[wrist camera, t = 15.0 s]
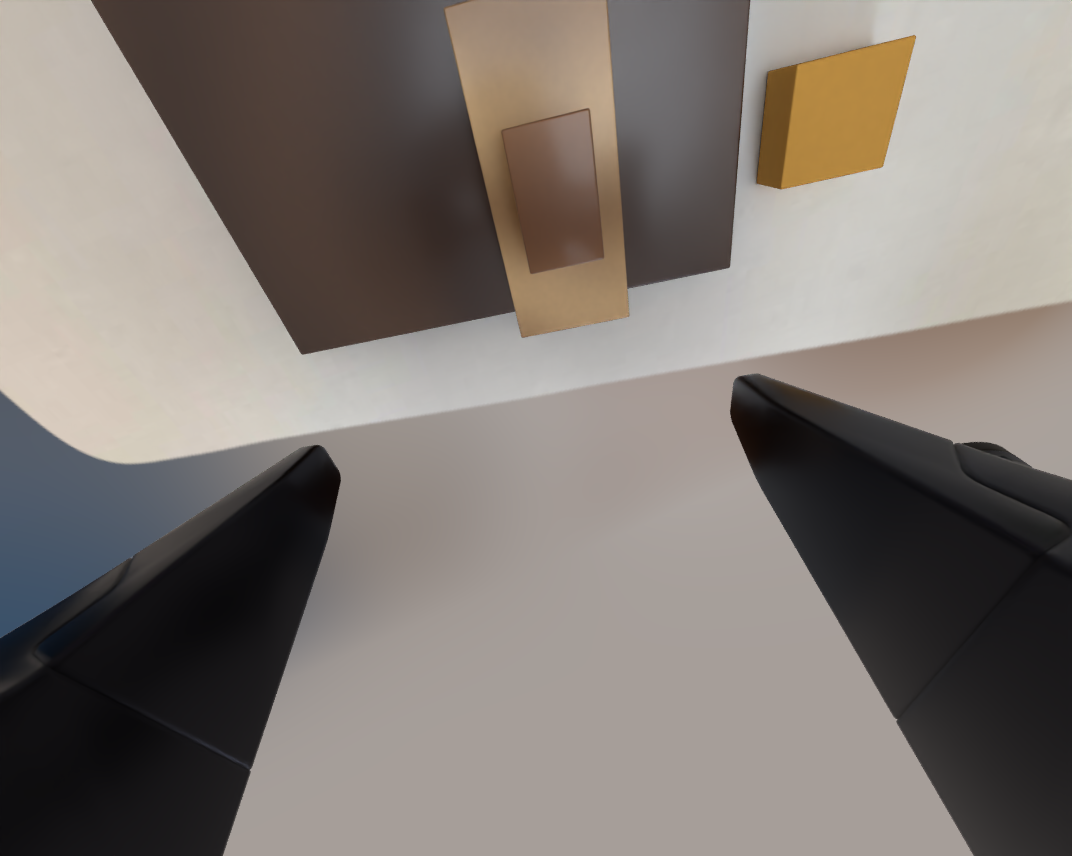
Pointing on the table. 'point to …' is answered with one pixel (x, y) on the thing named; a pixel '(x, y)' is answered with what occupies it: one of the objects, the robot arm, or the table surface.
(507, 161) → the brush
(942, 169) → the table surface
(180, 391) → the table surface
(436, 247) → the board
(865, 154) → the mustard orange square block
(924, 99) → the table surface
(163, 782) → the robot arm
